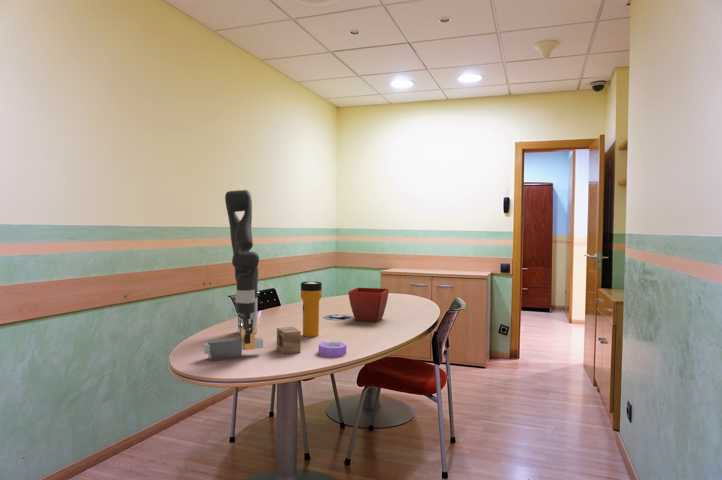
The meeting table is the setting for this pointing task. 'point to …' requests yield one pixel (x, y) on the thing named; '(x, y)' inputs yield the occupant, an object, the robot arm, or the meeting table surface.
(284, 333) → the socket block
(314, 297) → the flashlight
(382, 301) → the plant pot
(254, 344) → the slip tube
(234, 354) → the sleeve
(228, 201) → the robot arm
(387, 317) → the meeting table surface
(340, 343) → the masking tape
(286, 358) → the meeting table surface
